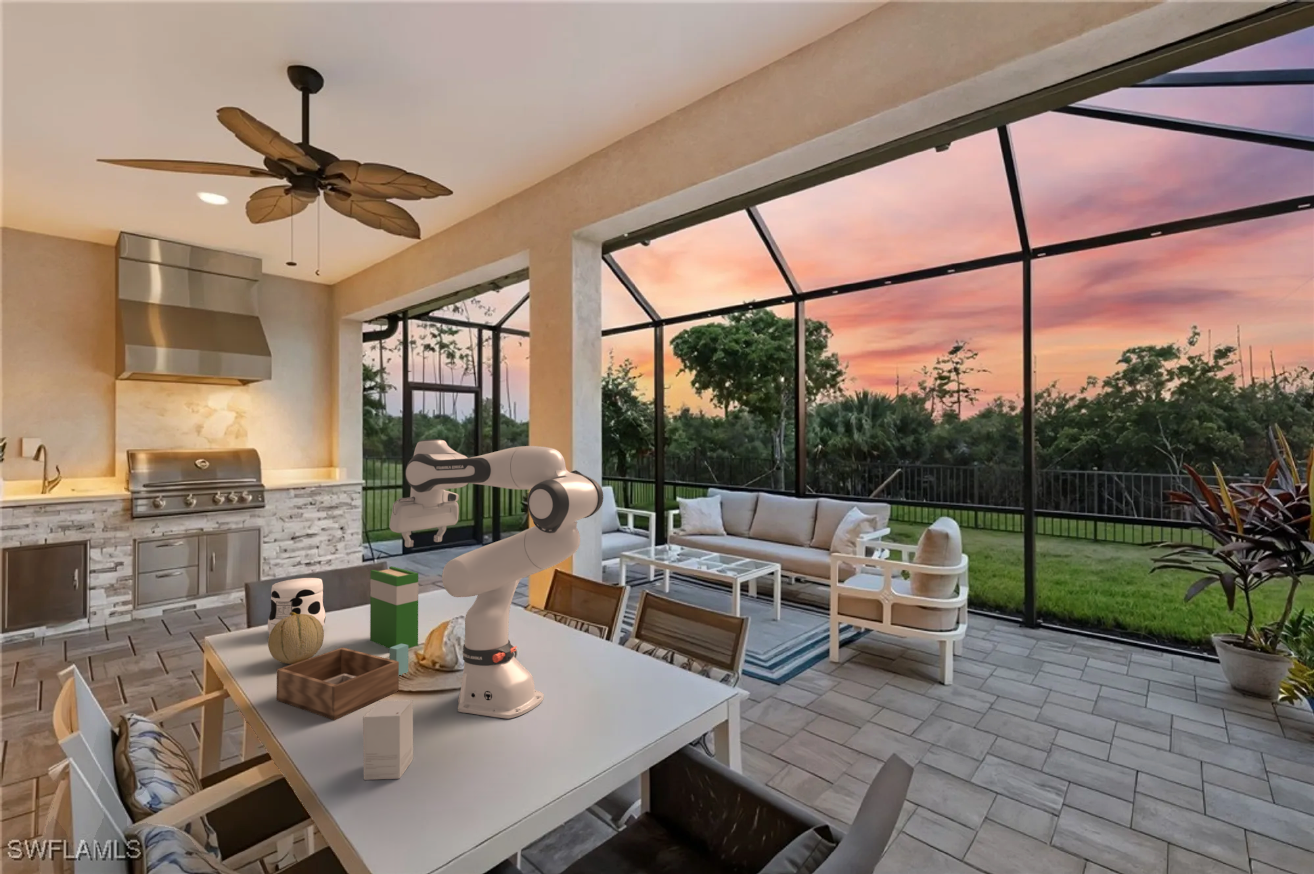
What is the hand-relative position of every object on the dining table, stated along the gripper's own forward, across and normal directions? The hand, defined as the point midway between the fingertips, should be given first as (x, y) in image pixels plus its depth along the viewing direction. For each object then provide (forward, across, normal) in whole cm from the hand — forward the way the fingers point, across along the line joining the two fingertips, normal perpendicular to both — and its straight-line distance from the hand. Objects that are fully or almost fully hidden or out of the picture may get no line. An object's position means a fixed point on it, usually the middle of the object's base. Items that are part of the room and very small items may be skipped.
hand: (423, 543), depth 159 cm
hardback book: (+42, +15, +31) cm, 55 cm away
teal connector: (+40, 0, +6) cm, 40 cm away
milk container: (+46, +4, +69) cm, 83 cm away
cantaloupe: (+43, -11, +41) cm, 61 cm away
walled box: (+40, -18, +7) cm, 44 cm away
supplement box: (+35, -32, -36) cm, 59 cm away
